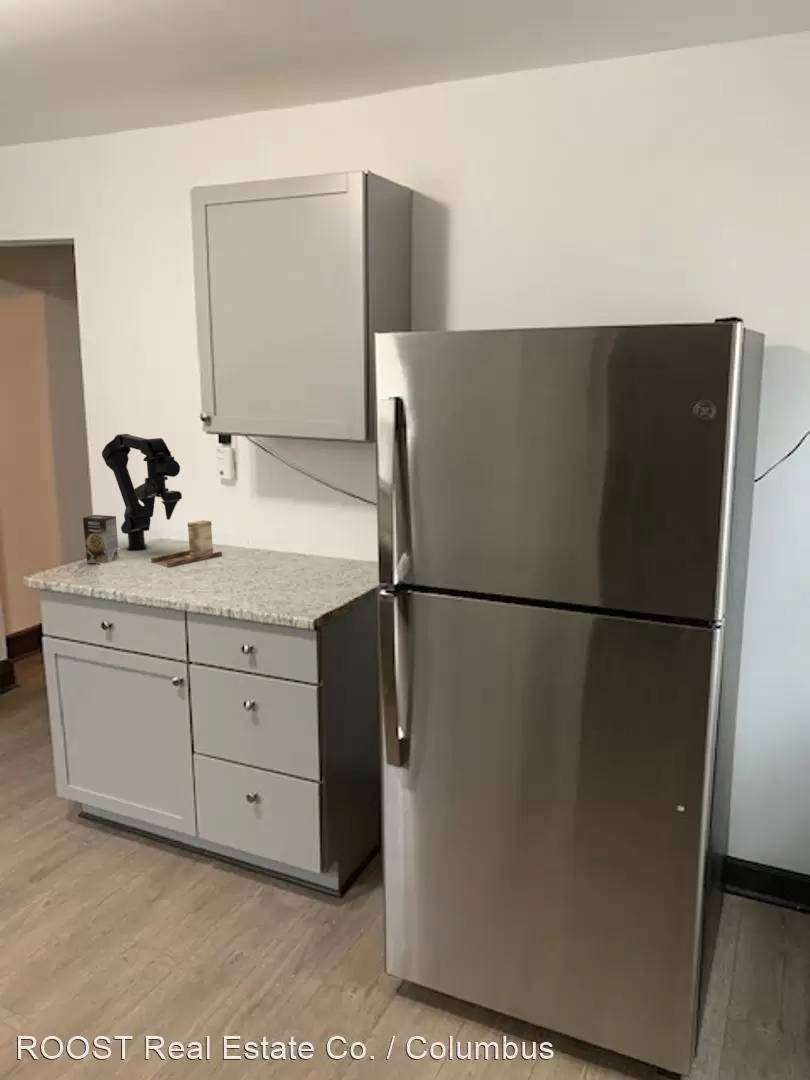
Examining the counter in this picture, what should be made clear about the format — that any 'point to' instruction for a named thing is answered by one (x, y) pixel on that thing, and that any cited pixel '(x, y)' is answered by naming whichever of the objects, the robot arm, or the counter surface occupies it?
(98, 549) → the coffee box
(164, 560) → the bay
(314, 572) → the counter surface
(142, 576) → the counter surface
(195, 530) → the stack of paper
